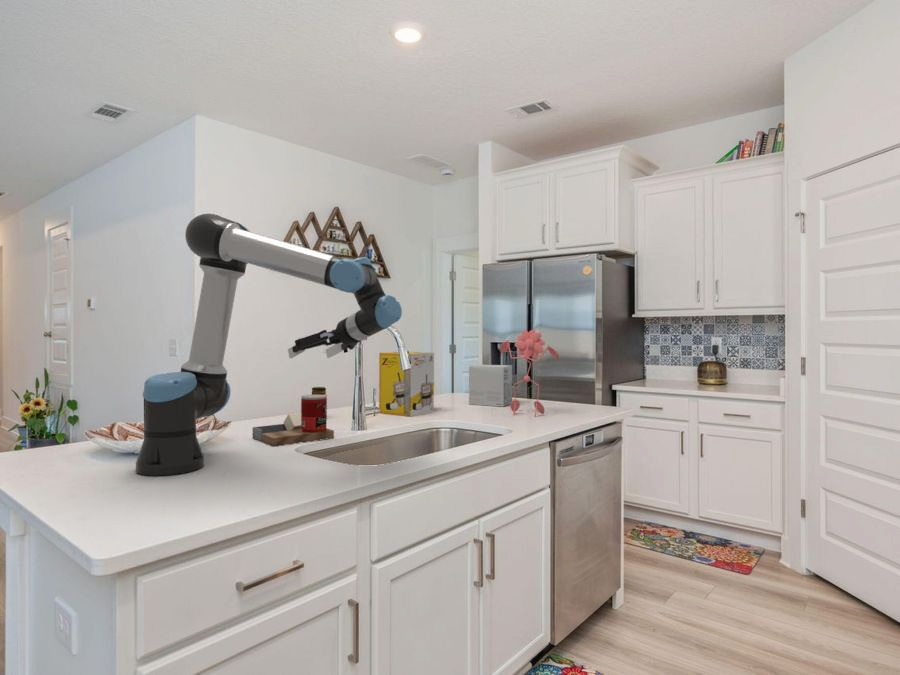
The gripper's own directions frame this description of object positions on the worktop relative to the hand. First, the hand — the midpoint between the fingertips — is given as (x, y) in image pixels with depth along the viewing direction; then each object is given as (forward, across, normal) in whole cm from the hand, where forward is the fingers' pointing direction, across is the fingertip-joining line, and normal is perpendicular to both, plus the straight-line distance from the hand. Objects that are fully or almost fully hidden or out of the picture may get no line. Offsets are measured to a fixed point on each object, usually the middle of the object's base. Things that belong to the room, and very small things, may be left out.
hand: (309, 353), depth 166 cm
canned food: (+17, +9, -20) cm, 28 cm away
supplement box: (+19, +113, -19) cm, 116 cm away
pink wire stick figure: (-8, +99, -29) cm, 103 cm away
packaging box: (+31, +68, -16) cm, 76 cm away
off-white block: (+24, +8, -18) cm, 31 cm away
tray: (+27, +6, -19) cm, 33 cm away
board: (+19, +4, -22) cm, 30 cm away
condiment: (+46, +35, -11) cm, 59 cm away
